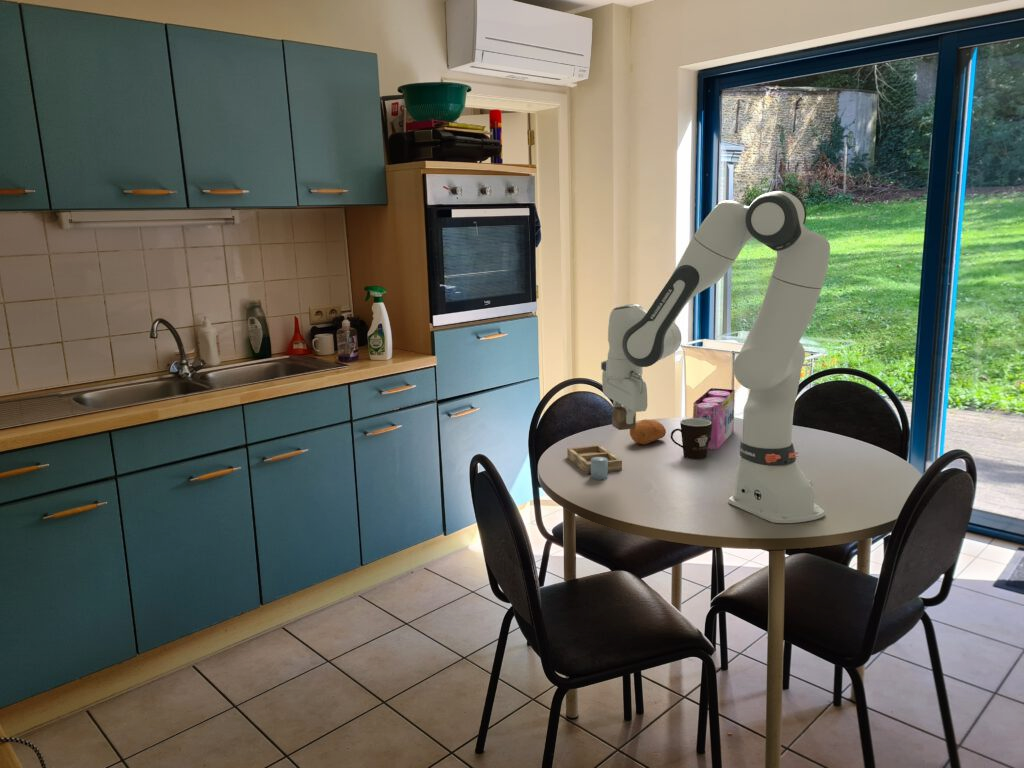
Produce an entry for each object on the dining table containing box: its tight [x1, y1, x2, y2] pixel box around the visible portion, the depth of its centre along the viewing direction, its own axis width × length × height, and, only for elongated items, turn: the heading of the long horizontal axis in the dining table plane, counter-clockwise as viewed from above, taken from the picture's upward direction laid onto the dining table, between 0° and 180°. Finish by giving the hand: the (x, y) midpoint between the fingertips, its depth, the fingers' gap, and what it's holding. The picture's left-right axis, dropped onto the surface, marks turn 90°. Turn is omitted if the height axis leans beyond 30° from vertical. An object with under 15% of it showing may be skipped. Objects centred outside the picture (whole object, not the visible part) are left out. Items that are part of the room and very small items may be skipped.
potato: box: [629, 419, 667, 446], centre depth 234 cm, size 7×13×7 cm, turn 123°
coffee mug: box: [670, 417, 711, 460], centre depth 219 cm, size 12×9×10 cm
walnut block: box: [611, 405, 637, 431], centre depth 199 cm, size 4×4×5 cm
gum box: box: [692, 387, 736, 451], centre depth 234 cm, size 24×8×14 cm, turn 152°
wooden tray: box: [566, 444, 623, 475], centre depth 215 cm, size 16×10×3 cm, turn 15°
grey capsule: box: [590, 457, 609, 481], centre depth 203 cm, size 4×4×5 cm
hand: (623, 420), depth 199 cm, fingers closed on walnut block, 4 cm apart
